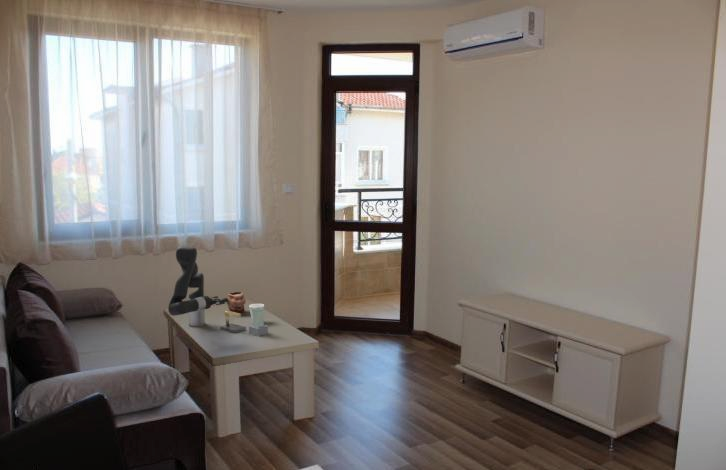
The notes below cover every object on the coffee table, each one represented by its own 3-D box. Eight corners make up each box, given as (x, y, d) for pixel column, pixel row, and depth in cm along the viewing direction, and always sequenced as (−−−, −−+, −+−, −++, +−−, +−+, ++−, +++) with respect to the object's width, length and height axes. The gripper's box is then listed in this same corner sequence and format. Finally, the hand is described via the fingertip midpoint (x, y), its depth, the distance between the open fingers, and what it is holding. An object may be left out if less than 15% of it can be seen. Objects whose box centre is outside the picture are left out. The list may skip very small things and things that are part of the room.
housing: (258, 336, 365) (258, 328, 365) (248, 333, 370) (248, 326, 369) (267, 333, 372) (267, 325, 371) (258, 330, 376) (258, 323, 376)
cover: (258, 328, 367) (257, 310, 365) (252, 327, 370) (252, 309, 368) (263, 326, 371) (263, 309, 369) (258, 325, 373) (258, 307, 372)
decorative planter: (221, 310, 423) (220, 291, 421) (237, 308, 430) (237, 288, 428) (233, 317, 407) (233, 296, 405) (250, 314, 414) (250, 294, 412)
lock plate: (220, 329, 379) (220, 326, 378) (231, 326, 386) (231, 323, 385) (234, 333, 371) (234, 330, 370) (245, 329, 378) (245, 326, 378)
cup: (261, 324, 389) (261, 307, 388) (246, 323, 391) (246, 307, 390) (267, 320, 399) (266, 304, 398) (252, 319, 401) (252, 303, 400)
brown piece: (224, 325, 381) (223, 311, 379) (227, 324, 383) (227, 310, 382) (238, 328, 373) (238, 314, 372) (242, 327, 375) (241, 313, 374)
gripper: (209, 298, 345) (230, 293, 358) (192, 295, 353) (214, 291, 366) (209, 311, 346) (231, 306, 359) (192, 308, 354) (214, 303, 367)
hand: (222, 298), depth 362 cm, fingers open, 8 cm apart
